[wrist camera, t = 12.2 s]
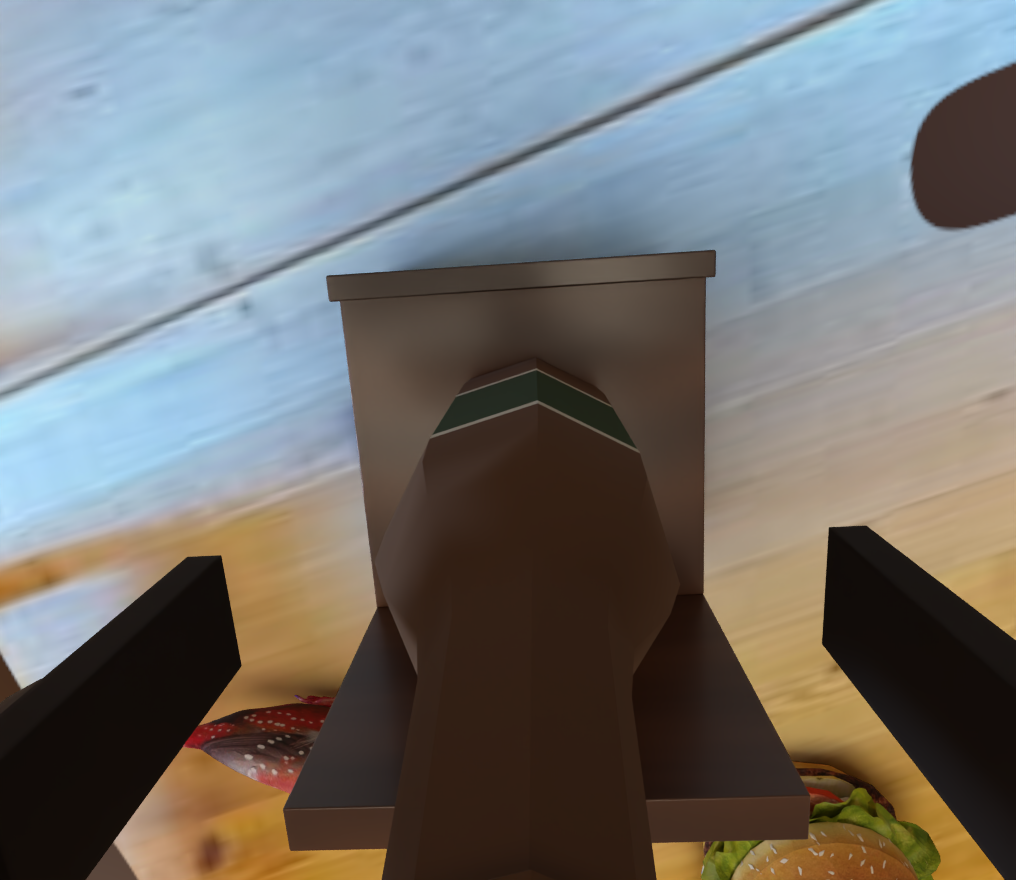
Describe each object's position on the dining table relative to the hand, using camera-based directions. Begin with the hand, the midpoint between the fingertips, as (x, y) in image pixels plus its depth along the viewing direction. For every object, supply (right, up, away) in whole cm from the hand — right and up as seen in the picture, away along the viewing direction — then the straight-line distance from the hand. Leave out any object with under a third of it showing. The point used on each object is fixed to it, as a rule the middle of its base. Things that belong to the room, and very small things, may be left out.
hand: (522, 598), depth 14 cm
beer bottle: (+1, +3, +15) cm, 15 cm away
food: (+18, -23, +30) cm, 41 cm away
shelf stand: (+1, +5, +23) cm, 24 cm away
